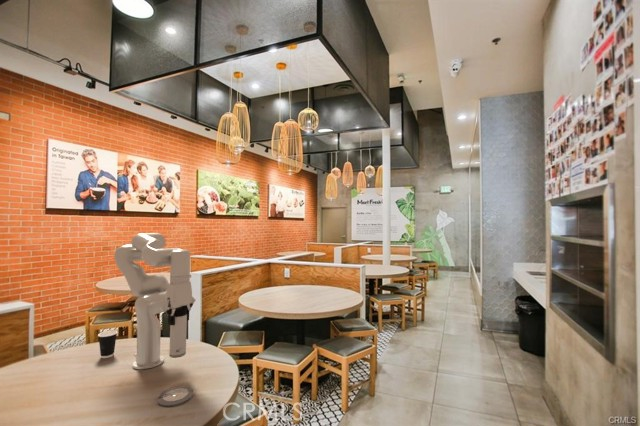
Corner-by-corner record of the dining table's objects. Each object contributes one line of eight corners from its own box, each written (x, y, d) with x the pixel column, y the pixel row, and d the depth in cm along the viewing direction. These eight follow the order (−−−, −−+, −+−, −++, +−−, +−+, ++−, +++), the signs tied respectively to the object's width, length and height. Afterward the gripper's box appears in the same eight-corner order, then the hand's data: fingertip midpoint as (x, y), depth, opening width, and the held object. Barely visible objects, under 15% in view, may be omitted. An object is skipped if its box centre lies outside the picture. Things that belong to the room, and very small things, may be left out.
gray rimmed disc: (150, 401, 112) (150, 398, 112) (178, 385, 122) (179, 383, 122) (172, 410, 106) (172, 407, 106) (200, 393, 117) (200, 390, 117)
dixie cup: (93, 360, 146) (94, 336, 147) (102, 353, 154) (103, 331, 155) (112, 358, 148) (112, 335, 148) (120, 352, 156) (120, 330, 156)
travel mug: (180, 358, 125) (181, 309, 126) (165, 357, 127) (167, 308, 127) (189, 352, 131) (191, 305, 132) (175, 350, 133) (177, 304, 133)
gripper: (191, 275, 139) (189, 315, 139) (155, 281, 124) (153, 326, 123) (202, 277, 136) (201, 318, 135) (167, 284, 120) (165, 330, 120)
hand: (178, 321), depth 129 cm, fingers closed on travel mug, 6 cm apart
